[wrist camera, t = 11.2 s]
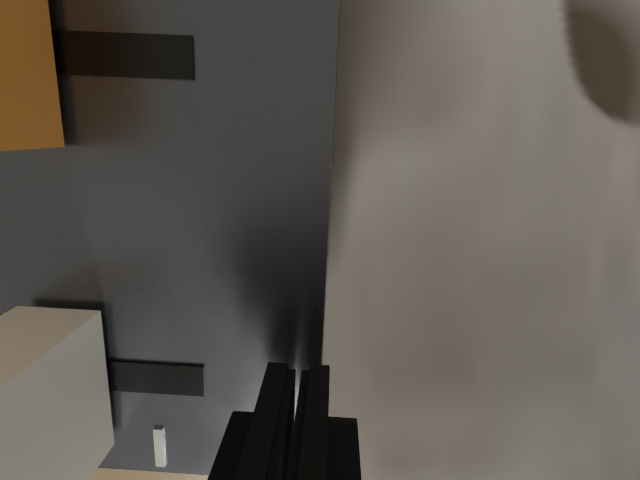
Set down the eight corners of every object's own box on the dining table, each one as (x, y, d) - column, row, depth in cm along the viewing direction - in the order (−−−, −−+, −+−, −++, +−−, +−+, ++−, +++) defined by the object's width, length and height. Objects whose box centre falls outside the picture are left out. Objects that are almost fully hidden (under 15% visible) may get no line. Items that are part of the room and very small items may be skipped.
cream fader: (100, 310, 12) (-20, 403, 8) (114, 444, 13) (15, 583, 9) (17, 306, 12) (-144, 395, 8) (38, 438, 13) (-92, 575, 9)
